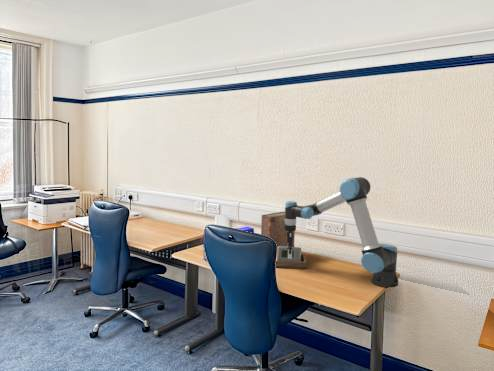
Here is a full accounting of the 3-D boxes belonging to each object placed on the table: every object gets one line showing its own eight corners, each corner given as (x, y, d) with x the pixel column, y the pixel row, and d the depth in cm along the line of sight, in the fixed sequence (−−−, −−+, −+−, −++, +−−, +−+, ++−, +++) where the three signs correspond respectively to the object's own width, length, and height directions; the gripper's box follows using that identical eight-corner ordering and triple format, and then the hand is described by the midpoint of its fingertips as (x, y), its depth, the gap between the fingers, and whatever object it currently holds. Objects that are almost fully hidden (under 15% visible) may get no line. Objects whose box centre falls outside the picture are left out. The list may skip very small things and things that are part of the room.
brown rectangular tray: (306, 268, 246) (306, 262, 245) (273, 267, 247) (273, 261, 247) (304, 260, 263) (304, 254, 262) (273, 259, 264) (273, 253, 264)
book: (284, 250, 287) (286, 211, 283) (294, 252, 280) (295, 213, 276) (260, 256, 270) (261, 215, 267) (269, 259, 263) (270, 217, 260)
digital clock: (275, 263, 253) (275, 247, 252) (279, 259, 262) (279, 244, 260) (299, 266, 248) (299, 250, 246) (302, 262, 256) (302, 246, 255)
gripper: (284, 220, 264) (283, 249, 267) (285, 228, 240) (284, 261, 242) (295, 220, 264) (294, 250, 266) (297, 228, 239) (296, 261, 242)
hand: (289, 255), depth 254 cm, fingers open, 13 cm apart
